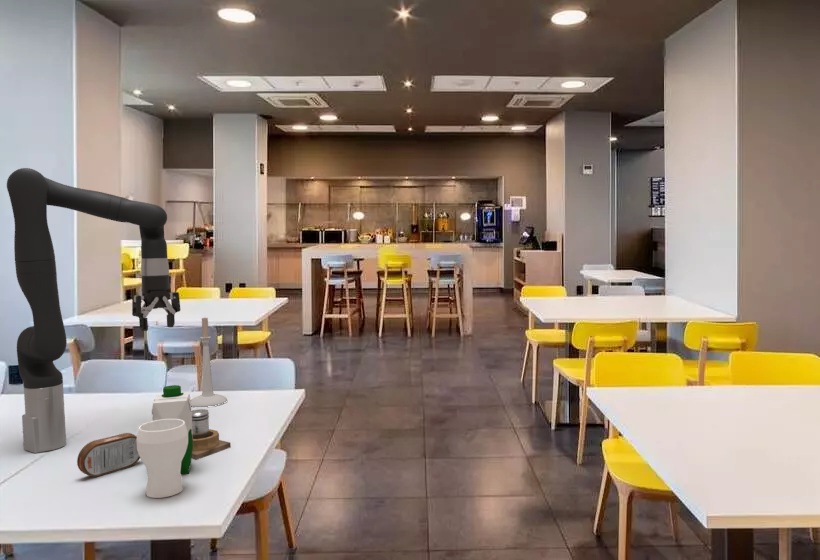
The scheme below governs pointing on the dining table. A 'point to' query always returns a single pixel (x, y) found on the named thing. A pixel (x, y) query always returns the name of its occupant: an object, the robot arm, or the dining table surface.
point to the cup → (163, 455)
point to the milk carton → (176, 416)
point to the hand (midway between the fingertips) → (157, 328)
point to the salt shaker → (200, 423)
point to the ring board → (208, 445)
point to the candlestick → (207, 375)
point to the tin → (108, 455)
